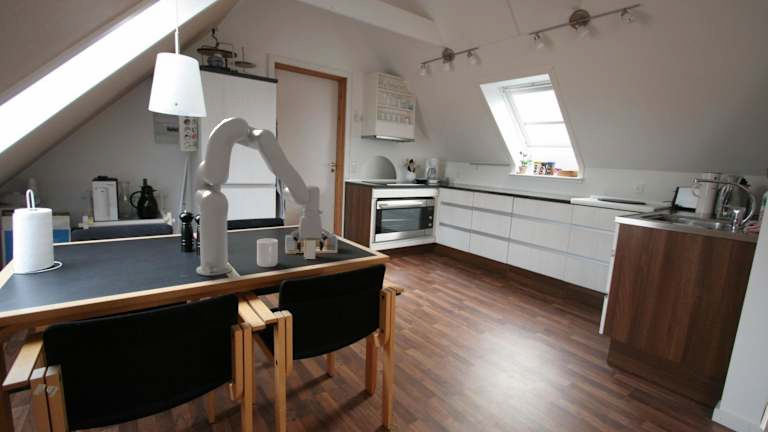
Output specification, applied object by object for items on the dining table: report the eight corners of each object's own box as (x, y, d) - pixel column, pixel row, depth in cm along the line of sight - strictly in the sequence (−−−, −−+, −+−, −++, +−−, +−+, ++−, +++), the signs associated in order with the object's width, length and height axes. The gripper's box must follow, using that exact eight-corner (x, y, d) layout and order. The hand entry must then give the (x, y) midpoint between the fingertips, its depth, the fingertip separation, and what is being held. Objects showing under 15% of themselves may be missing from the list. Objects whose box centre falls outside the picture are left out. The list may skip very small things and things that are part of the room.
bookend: (294, 250, 172) (295, 237, 171) (286, 250, 171) (286, 237, 170) (293, 246, 178) (294, 234, 177) (285, 247, 177) (285, 234, 176)
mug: (281, 269, 149) (282, 244, 147) (260, 271, 145) (260, 245, 143) (275, 260, 159) (275, 237, 158) (255, 262, 155) (255, 238, 154)
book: (315, 259, 164) (315, 240, 163) (305, 260, 163) (305, 240, 162) (313, 255, 171) (313, 236, 170) (303, 255, 170) (304, 236, 168)
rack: (337, 252, 177) (337, 236, 176) (286, 254, 170) (286, 237, 169) (333, 248, 186) (334, 232, 185) (285, 249, 178) (285, 232, 177)
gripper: (328, 212, 170) (327, 247, 173) (290, 212, 165) (290, 249, 168) (331, 214, 163) (330, 252, 166) (291, 215, 158) (291, 253, 161)
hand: (310, 250), depth 167 cm, fingers open, 9 cm apart
